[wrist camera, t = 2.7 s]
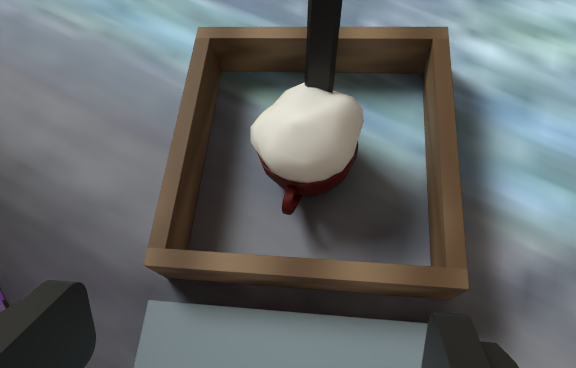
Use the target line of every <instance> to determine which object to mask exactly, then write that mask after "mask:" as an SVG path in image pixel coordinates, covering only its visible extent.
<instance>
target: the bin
mask: <svg viewBox="0 0 576 368" xmlns="http://www.w3.org/2000/svg"><path fill="white" fill-rule="evenodd" d="M306 43H307V27H198V30H197V35H196V39H195V43H194V48H193V52H192V56H191V61H190V65H189V69H188V74H187V78H186V83H185V87H184V91H183V96H182V100H181V104H180V109H179V113H178V117H177V122H176V126H175V131H174V135H173V139H172V144H171V148H170V152H169V157H168V161H167V165H166V170H165V174H164V178H163V183H162V187H161V192H160V196H159V200H158V205H157V209H156V213H155V218H154V222H153V226H152V231H151V235H150V240H149V244H148V248H147V253H146V257H145V261H144V266H146V267H148V268H149V269H151V270H153V271H155V272H157V273H158V274H160V275H162V276H164V277H166V278H173V279H186V280H199V281H213V282H226V283H239V284H252V285H265V286H278V287H291V288H304V289H318V290H331V291H344V292H357V293H370V294H383V295H396V296H409V297H423V298H436V299H449V300H451V299H452V298H454V297H456V296H458V295H459V294H461V293H463V292H465V291H466V290H468V289H469V284H468V271H467V259H466V246H465V234H464V221H463V209H462V196H461V184H460V172H459V159H458V147H457V134H456V122H455V109H454V97H453V84H452V72H451V59H450V47H449V34H448V27H339V37H338V47H337V57H336V66H335V72H359V73H422V82H423V103H424V125H425V147H426V169H427V191H428V213H429V235H430V257H431V267H430V266H415V265H401V264H386V263H371V262H356V261H341V260H326V259H311V258H297V257H282V256H267V255H252V254H237V253H222V252H207V251H193V250H188V245H189V240H190V235H191V229H192V224H193V219H194V213H195V208H196V203H197V198H198V192H199V187H200V182H201V177H202V171H203V166H204V161H205V156H206V150H207V145H208V140H209V135H210V129H211V124H212V119H213V113H214V108H215V103H216V98H217V92H218V87H219V82H220V77H221V71H281V72H305V66H306Z"/></svg>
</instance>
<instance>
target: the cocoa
mask: <svg viewBox="0 0 576 368" xmlns="http://www.w3.org/2000/svg"><path fill="white" fill-rule="evenodd" d="M341 8H342V0H308V20H307V43H306V66H305V83H302V84H300V85H297V86H295V87H293V88H290V89H288V90H286V91H285V92H284V93H283V94H282V95H281V96H280V97H279V99H278V100H277V101H276V102H275V103H274V104H273V105H272V106H270V107H269V108H268V109H266V110H265V111H264V112H263V113H261V114H260V116H259V117H258V118H257V120H256V121H255V122H254V123H253V125H252V126H251V127H250V128H251V144H252V145H253V147H254V148H255V149H256V151H257V154H258V156H259V158H260V161H261V163H262V166H263V168H264V170H265V172H266V174H267V175H268V176H269V177H270V178H271V179H272V180H273V181H275V182H276V183H277V184H278V185H280V186H281V187H282V188H283V189H284V190H286V192H285V195H284V198H283V203H282V212H283V213H284V214H287V215H291V214H292V213H293V212H294V210H295V209H296V207H297V205H298V203H299V202H300V200H301V198H302V196H312V195H317V194H323V193H326V192H327V191H329V190H330V189H332V188H333V187H335V186H336V185H338V184H339V183H341V182H342V181H343V180H344V178H345V176H346V175H347V173H348V171H349V169H350V168H351V166H352V164H353V162H354V161H355V159H356V156H357V152H358V138H359V135H360V132H361V128H362V125H363V122H364V121H363V110H362V108H361V107H360V105H359V104H358V103H357V101H356V100H355V99H354V97H352V96H349V95H346V94H342V93H339V92H336V91H334V90H333V86H334V76H335V66H336V57H337V47H338V37H339V27H340V18H341Z"/></svg>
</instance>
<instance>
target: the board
mask: <svg viewBox="0 0 576 368" xmlns="http://www.w3.org/2000/svg"><path fill="white" fill-rule="evenodd" d="M427 325H428V323H417V322H405V321H393V320H381V319H369V318H357V317H345V316H333V315H321V314H309V313H297V312H285V311H273V310H261V309H249V308H237V307H225V306H213V305H201V304H189V303H177V302H165V301H153V300H148V304H147V309H146V314H145V318H144V323H143V327H142V332H141V337H140V341H139V346H138V350H137V355H136V360H135V364H134V368H421V365H422V358H423V351H424V345H425V338H426V331H427Z"/></svg>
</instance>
